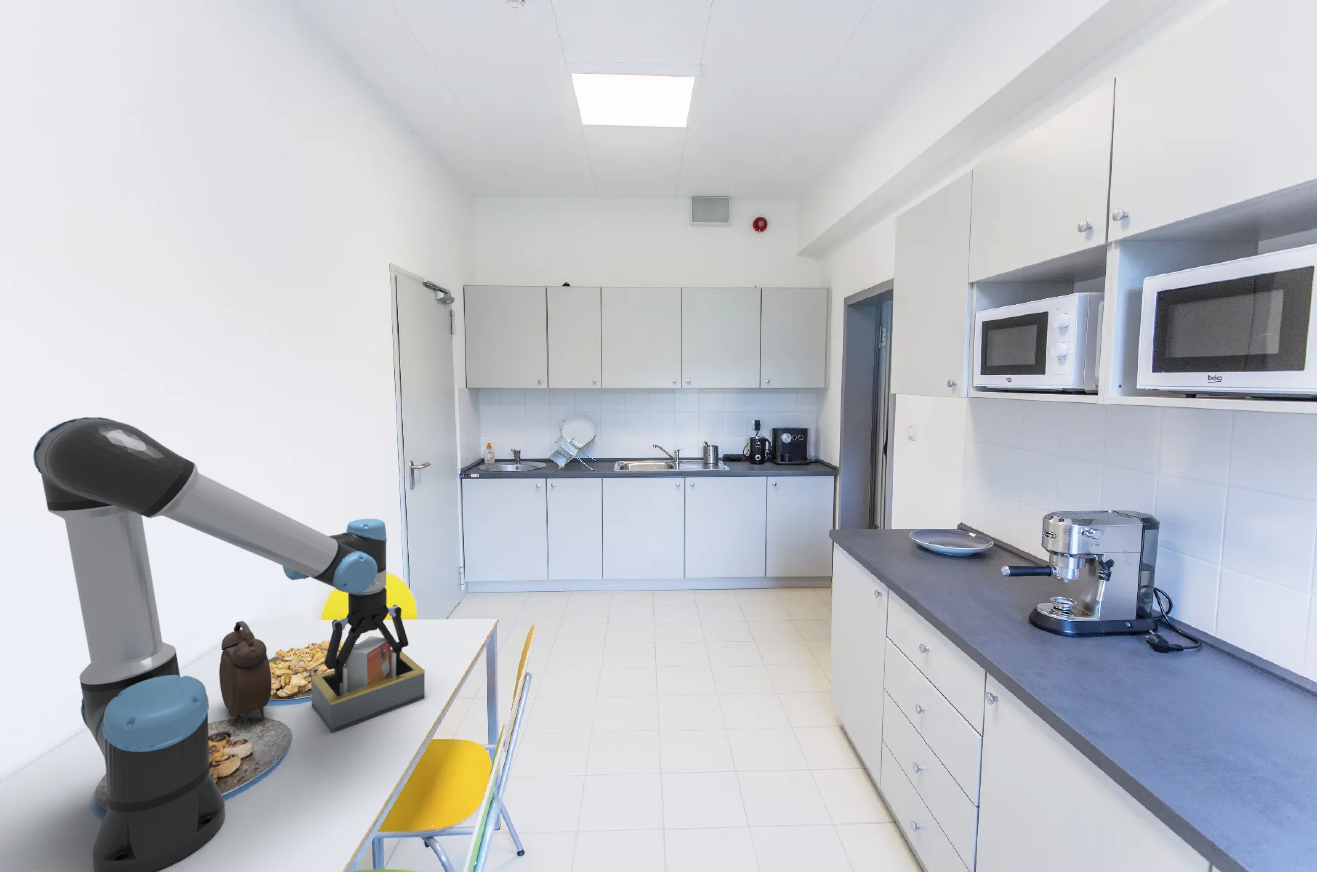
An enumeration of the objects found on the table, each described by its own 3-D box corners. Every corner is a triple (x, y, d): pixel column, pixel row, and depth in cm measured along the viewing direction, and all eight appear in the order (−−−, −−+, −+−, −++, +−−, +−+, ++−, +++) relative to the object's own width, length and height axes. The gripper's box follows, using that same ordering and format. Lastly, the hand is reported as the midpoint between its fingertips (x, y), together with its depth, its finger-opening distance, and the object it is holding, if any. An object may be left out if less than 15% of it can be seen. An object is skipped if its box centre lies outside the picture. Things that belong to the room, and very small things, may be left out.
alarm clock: (278, 719, 116) (276, 627, 115) (236, 735, 111) (233, 638, 109) (257, 694, 126) (255, 609, 124) (217, 707, 120) (214, 618, 119)
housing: (331, 733, 112) (331, 702, 112) (311, 705, 122) (311, 676, 121) (424, 698, 126) (424, 670, 125) (400, 675, 135) (399, 649, 135)
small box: (367, 700, 119) (366, 653, 118) (344, 697, 120) (343, 650, 119) (391, 682, 127) (391, 637, 126) (370, 679, 128) (370, 635, 127)
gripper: (315, 606, 111) (317, 713, 113) (424, 582, 127) (424, 675, 129) (305, 597, 116) (307, 698, 118) (411, 574, 132) (411, 664, 134)
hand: (368, 686), depth 123 cm, fingers closed on small box, 9 cm apart
